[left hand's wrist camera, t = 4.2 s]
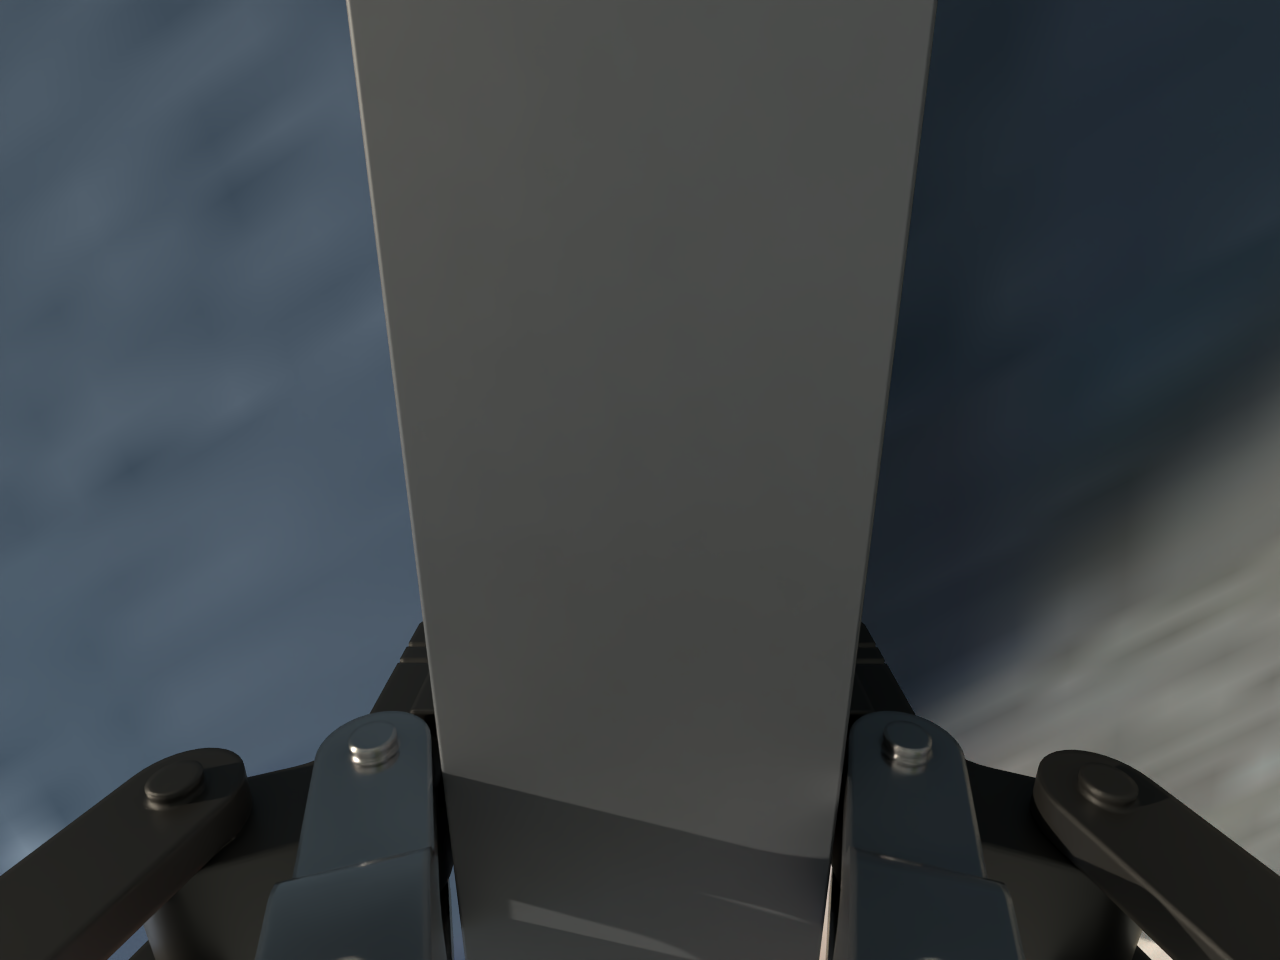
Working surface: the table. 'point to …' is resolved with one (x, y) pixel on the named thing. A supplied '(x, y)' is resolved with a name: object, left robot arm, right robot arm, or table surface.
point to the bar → (641, 439)
